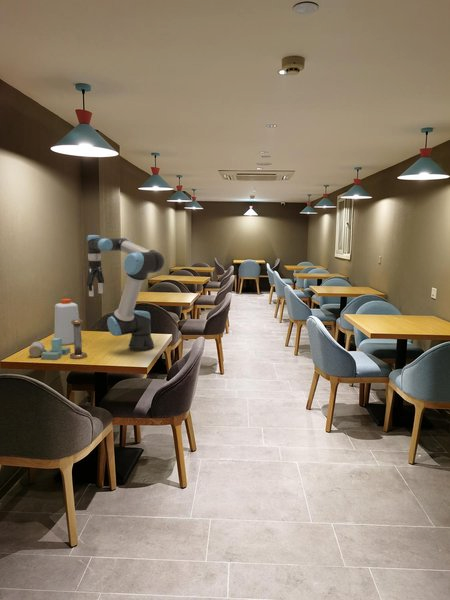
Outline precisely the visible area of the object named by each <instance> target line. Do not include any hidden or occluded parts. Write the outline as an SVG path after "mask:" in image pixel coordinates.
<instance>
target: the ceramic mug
mask: <svg viewBox="0 0 450 600" xmlns="http://www.w3.org/2000/svg"><path fill="white" fill-rule="evenodd" d="M47 351H48V350H47V349H45V345H44V344H43V342H41V341H33V342H32V343H31V345H30V346H29V348H28V354H29V355H30V356H31V357H32V358H38V357H40V356H41V354H43V353H45V352H47Z"/></svg>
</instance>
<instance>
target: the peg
mask: <svg viewBox="0 0 450 600" xmlns="http://www.w3.org/2000/svg"><path fill="white" fill-rule="evenodd" d="M50 342H51V349H52V352H61V357H62V356H63V355H62V347H63V345H62V339H61V338H54V337H53V338H51V340H50Z"/></svg>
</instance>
